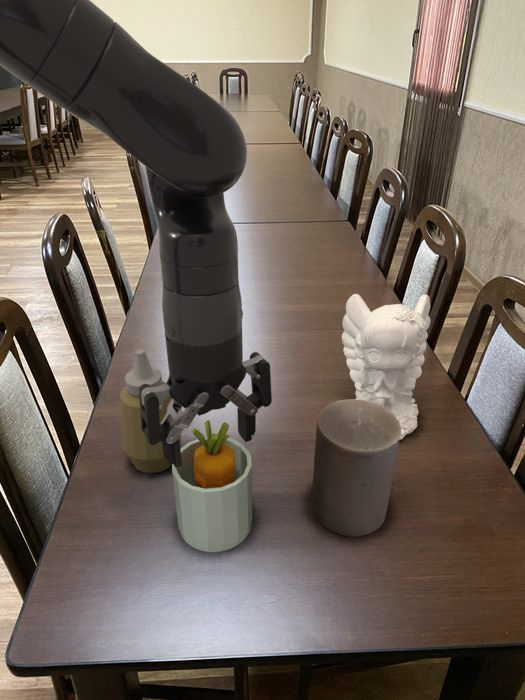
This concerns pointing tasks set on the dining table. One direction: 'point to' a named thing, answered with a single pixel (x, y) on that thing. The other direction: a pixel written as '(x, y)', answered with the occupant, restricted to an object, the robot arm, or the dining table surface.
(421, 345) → the cherub figurine
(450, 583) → the dining table surface
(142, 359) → the squeeze bottle
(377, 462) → the pillar candle
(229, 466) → the carrot
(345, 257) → the dining table surface
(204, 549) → the tumbler
